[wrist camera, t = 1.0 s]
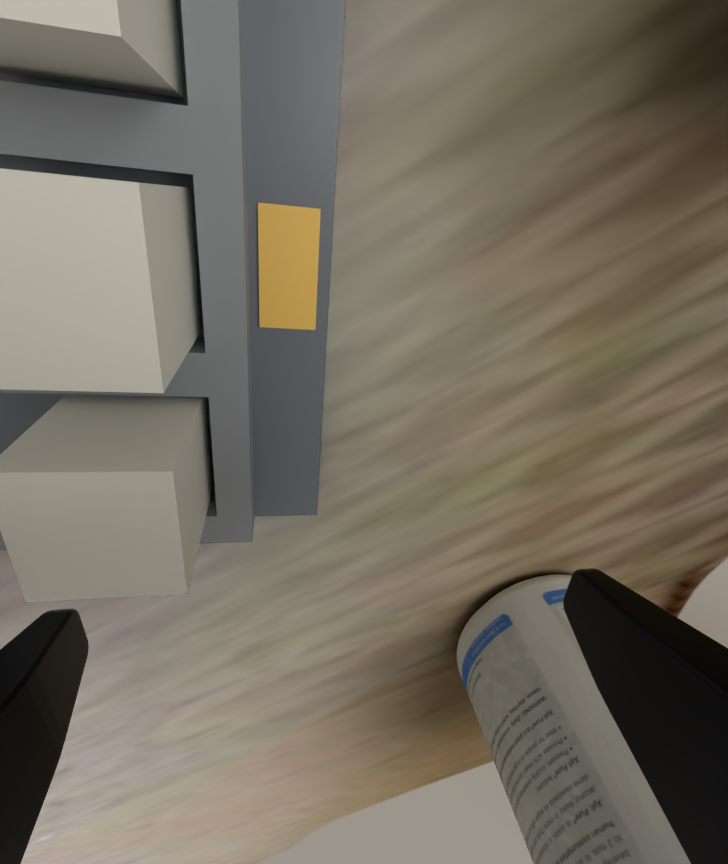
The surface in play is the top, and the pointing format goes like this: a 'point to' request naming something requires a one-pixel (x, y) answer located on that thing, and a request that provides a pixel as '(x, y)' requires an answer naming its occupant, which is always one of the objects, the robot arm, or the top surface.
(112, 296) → the light grey block
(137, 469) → the light grey block
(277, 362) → the grey compartment tray
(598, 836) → the supplement tub
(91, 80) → the beige grey rectangular block
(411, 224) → the top surface
